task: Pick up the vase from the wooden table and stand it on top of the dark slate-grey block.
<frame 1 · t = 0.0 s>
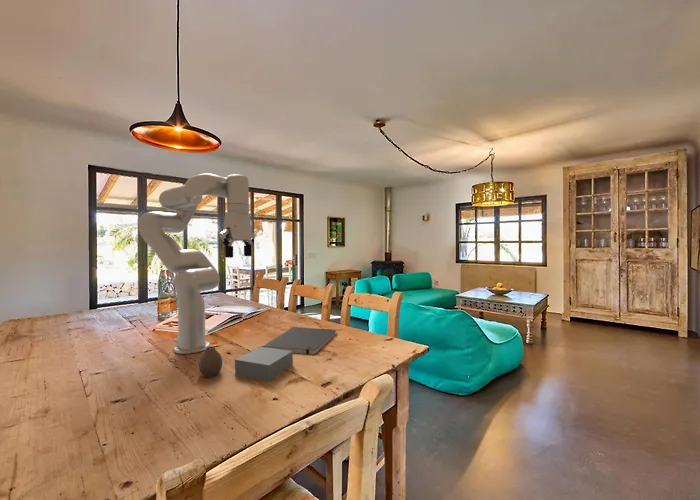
hand: (238, 256, 115), 37 cm above the table, tool pointing down, fingers open, 9 cm apart
vase: (210, 375, 100), on the table
slate block: (264, 370, 103), on the table
notebook: (302, 342, 133), on the table
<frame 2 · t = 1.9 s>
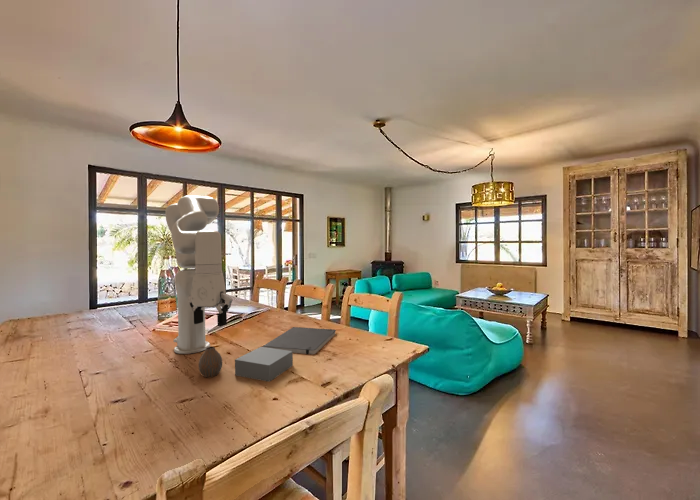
hand: (210, 324, 99), 16 cm above the table, tool pointing down, fingers open, 9 cm apart
nothing on the table moved.
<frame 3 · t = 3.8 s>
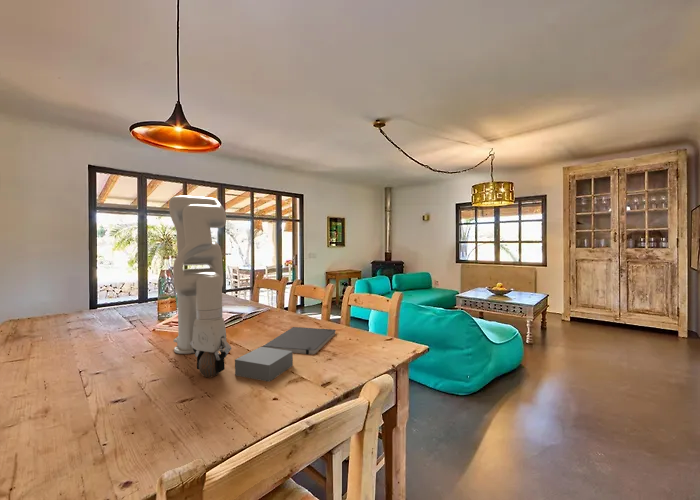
hand: (210, 369, 100), 2 cm above the table, tool pointing down, fingers closed on vase, 6 cm apart
vase: (211, 375, 100), on the table, touching gripper
everything else where it was.
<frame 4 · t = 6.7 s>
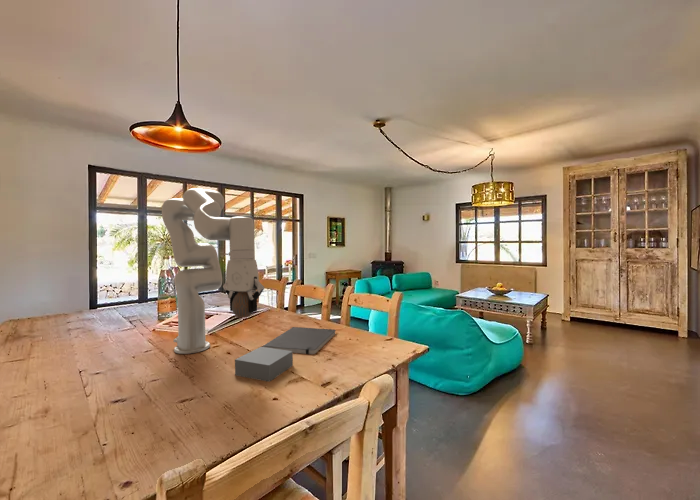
hand: (243, 310, 101), 20 cm above the table, tool pointing down, fingers closed on vase, 6 cm apart
vase: (243, 316, 101), point 18 cm above the table, touching gripper
everything else where it was.
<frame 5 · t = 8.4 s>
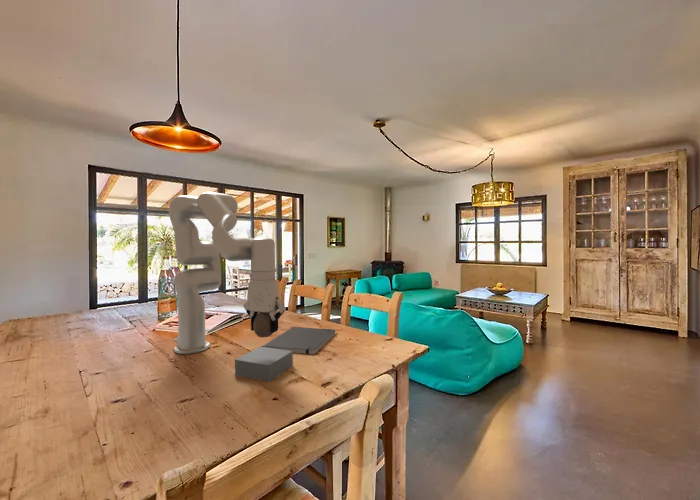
hand: (264, 330, 103), 13 cm above the table, tool pointing down, fingers closed on vase, 6 cm apart
vase: (264, 336, 103), point 11 cm above the table, touching gripper
everything else where it was.
when the fingers open (8 cm above the table, at t = 9.9 s): vase drops 1 cm, resting on slate block.
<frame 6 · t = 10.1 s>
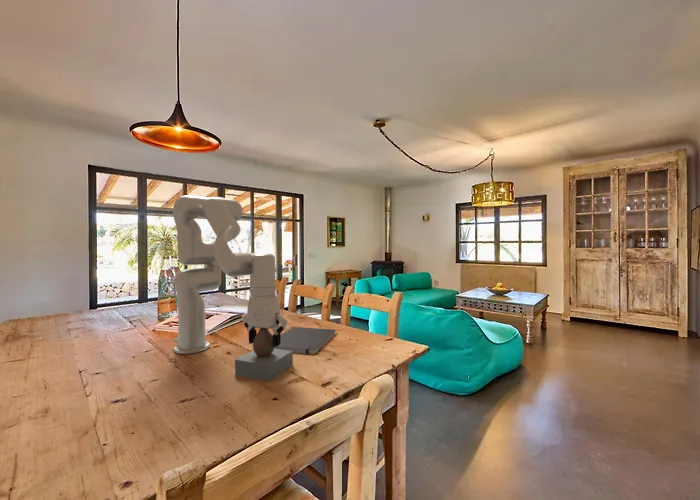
hand: (264, 344, 103), 9 cm above the table, tool pointing down, fingers open, 9 cm apart
vase: (264, 355, 103), point 5 cm above the table, touching slate block
everything else where it was.
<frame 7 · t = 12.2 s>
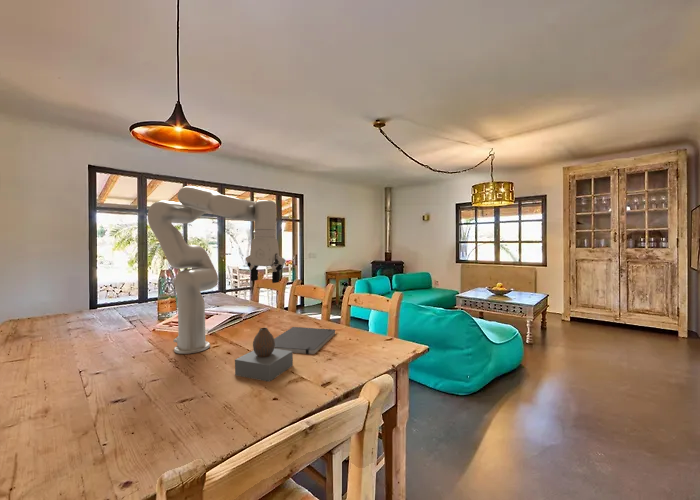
hand: (264, 281, 115), 28 cm above the table, tool pointing down, fingers open, 9 cm apart
nothing on the table moved.
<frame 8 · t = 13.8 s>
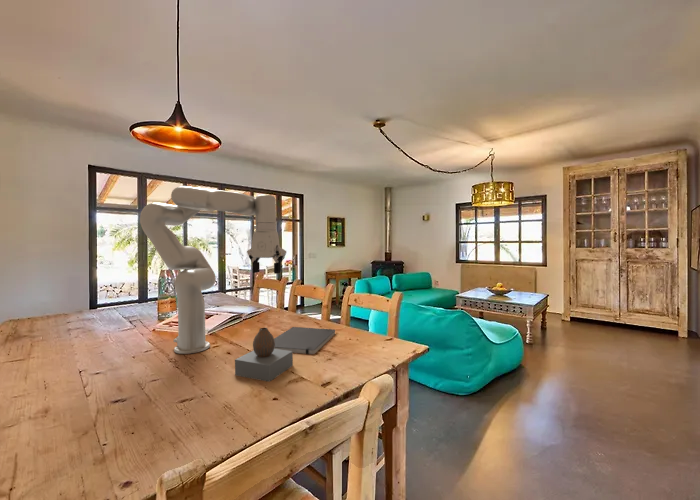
hand: (266, 272, 120), 30 cm above the table, tool pointing down, fingers open, 9 cm apart
nothing on the table moved.
at the end: vase inside the target area on the slate block (0.3 cm from its centre), point 4.8 cm above the slate block's base; vase tilted 0°; the gripper is holding nothing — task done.
